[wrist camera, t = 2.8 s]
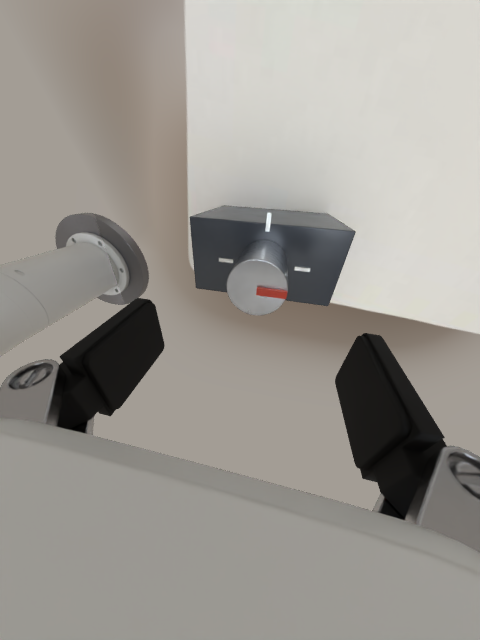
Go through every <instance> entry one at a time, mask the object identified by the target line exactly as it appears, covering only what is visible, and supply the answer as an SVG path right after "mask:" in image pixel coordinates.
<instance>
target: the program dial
mask: <svg viewBox="0 0 480 640" xmlns="http://www.w3.org/2000/svg"><path fill="white" fill-rule="evenodd" d="M227 293H228V296H229V298H230V300H231V302H232V303H233V304H234V305H235V306H236V307H237V308H238V309H239V310H241V311H243V312H245V313H247V314H251V315H266V314H269V313H272V312H273V311H275V310H277V309H278V308H279V307H280V306H281V305H282V304H283V302H284V301H285V299H286V297H287V293H288V272H287V257H286V254H285V252H284V251H283V249H282V248H281V247H280V246H279V245H278V244H276V243H274V242H272V241H268V240H259V241H256V242H253V243H252V244H250V245H249V246H248V247H247V248H246V249H245V250H244V251H243V253H242V255H241V256H240V258H239V259H238V261H237V263H236V264H235V266H234V267H233V269H232V270H231V272H230V274H229V276H228V279H227Z"/></svg>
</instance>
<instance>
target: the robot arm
mask: <svg viewBox="0 0 480 640" xmlns="http://www.w3.org/2000/svg"><path fill="white" fill-rule="evenodd" d="M129 279H130V278H129V271H128V267H127V265H126V262H125V260H124V259H123V257H122V255H121V254H120V253H119V252H118V250H117V249H116V248H115V247H114V246H113V245H112V244H111V243H109V242H108V241H107V240H106V239H104V238H102V237H100V236H98V235H96V234H94V233H89V232H81V233H76V234H74V235H72V236H71V237H70V238H69V239H68V241H67V243H66V247H63V248H60V249H56V250H53V251H49V252H46V253H42V254H38V255H35V256H31V257H28V258H24V259H20V260H17V261H13V262H10V263H6V264H3V265H0V357H1V356H2V355H4V354H5V353H7V352H8V351H10V350H11V349H13V348H14V347H15V346H17V345H19V344H20V343H22V342H23V341H25V340H27V339H28V338H30V337H32V336H33V335H35V334H37V333H38V332H40V331H42V330H43V329H45V328H46V327H48V326H50V325H52V324H53V323H55V322H57V321H58V320H60V319H62V318H64V317H65V316H67V315H68V314H70V313H72V312H73V311H75V310H77V309H79V308H80V307H82V306H84V305H85V304H87V303H88V302H90V301H92V300H93V299H95V298H97V297H99V296H100V295H102V294H106V295H117V294H119V293H121V292H123V291H124V290H125V289H126V288H127V286H128V284H129ZM163 349H164V341H163V337H162V332H161V328H160V324H159V320H158V316H157V312H156V307H155V305H154V304H153V303H152V302H151V301H150V300H148V299H141V298H137V299H135V300H134V301H133V302H131V303H130V304H129V305H127V306H126V307H125V308H123V309H122V310H121V311H119V312H118V313H117V314H115V315H114V316H113V317H111V318H110V319H109V320H108V321H106V322H105V323H103V324H102V325H101V326H99V327H98V328H97V329H95V330H94V331H93V332H91V333H90V334H89V335H87V336H86V337H85V338H83V339H82V340H81V341H79V342H78V343H77V344H75V345H74V346H73V347H72V348H70V349H69V350H68V351H66V352H65V353H64V354H62V355H61V356H60V358H61V359H62V361H63V363H61V364H60V365H59V364H58V363H57V362H56V361H54V360H48V359H45V360H39V361H35V362H32V363H29V364H27V365H25V366H22V367H20V368H19V369H17V370H16V371H14V372H12V373H11V374H10V375H9V376H8V377H7V378H6V379H5V380H4V382H3V383H2V385H1V387H0V640H480V457H479V456H477V455H475V454H474V453H472V452H470V451H468V450H465V449H463V448H460V447H455V446H446V444H445V442H444V441H443V438H444V436H443V434H442V433H441V431H440V429H439V428H438V426H437V424H436V423H435V421H434V420H433V418H432V417H431V415H430V413H429V412H428V410H427V408H426V407H425V405H424V404H423V402H422V400H421V399H420V397H419V396H418V394H417V393H416V391H415V389H414V388H413V386H412V385H411V383H410V381H409V380H408V378H407V376H406V375H405V373H404V372H403V370H402V368H401V367H400V365H399V364H398V362H397V360H396V359H395V357H394V356H393V354H392V353H391V351H390V349H389V348H388V346H387V344H386V343H385V341H384V339H383V338H382V337H381V336H380V335H373V334H367V333H364V334H363V335H362V336H358V337H357V338H356V340H355V342H354V344H353V345H352V347H351V349H350V351H349V353H348V355H347V357H346V359H345V361H344V363H343V364H342V366H341V368H340V370H339V372H338V374H337V376H336V379H335V384H336V388H337V392H338V396H339V400H340V404H341V408H342V413H343V417H344V420H345V425H346V429H347V433H348V438H349V442H350V446H351V450H352V454H353V458H354V462H355V464H356V466H357V468H360V470H361V474H362V478H363V479H366V480H371V481H375V482H378V486H379V489H380V492H381V494H380V496H379V498H378V500H377V502H376V504H375V506H374V508H373V510H372V511H370V510H367V509H364V508H360V507H356V506H354V505H350V504H346V503H343V502H339V501H336V500H333V499H329V498H325V497H322V496H318V495H314V494H311V493H307V492H303V491H300V490H296V489H292V488H288V487H284V486H281V485H277V484H274V483H270V482H266V481H263V480H259V479H255V478H251V477H248V476H244V475H240V474H236V473H233V472H229V471H225V470H222V469H218V468H214V467H210V466H207V465H203V464H199V463H195V462H192V461H188V460H184V459H180V458H177V457H173V456H169V455H165V454H161V453H158V452H154V451H150V450H146V449H142V448H139V447H135V446H131V445H127V444H123V443H119V442H116V441H112V440H108V439H104V438H100V437H96V436H93V422H94V415H95V414H96V413H97V412H99V413H100V414H104V415H108V416H111V415H112V414H113V412H114V411H115V410H116V409H119V408H120V407H121V406H122V405H123V403H124V402H125V401H126V399H127V398H128V397H129V395H130V394H131V393H132V391H133V390H134V389H135V387H136V386H137V385H138V383H139V382H140V380H141V379H142V378H143V377H144V375H145V374H146V372H147V371H148V370H149V369H150V367H151V366H152V365H153V363H154V362H155V361H156V359H157V358H158V356H159V355H160V354H161V353H162V351H163Z"/></svg>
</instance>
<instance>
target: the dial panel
mask: <svg viewBox="0 0 480 640" xmlns="http://www.w3.org/2000/svg"><path fill="white" fill-rule="evenodd" d="M190 225H191V237H192V248H193V260H194V271H195V282H196V288H199V289H206V290H214V291H221V292H227V279H228V276H229V274H230V272H231V270H232V269H233V267H234V266H235V264H236V263H237V261H238V259H239V258H240V256H241V255H242V253H243V251H244V250H245V249H246V248H247V247H248V246H249V245H250V244H252V243H253V242H256V241H259V240H268V241H272V242H274V243H276V244H278V245H279V246H280V247H281V248H282V249H283V251H284V252H285V254H286V257H287V272H288V293H287V297H286V299H285V300H287V301H294V302H301V303H309V304H317V305H324V306H328V305H329V303H330V300H331V297H332V295H333V292H334V289H335V286H336V284H337V281H338V278H339V276H340V273H341V270H342V267H343V265H344V262H345V259H346V257H347V254H348V251H349V249H350V246H351V243H352V240H353V238H354V235H355V231H354V230H352V229H351V228H349V227H348V226H346V225H345V224H343V223H342V222H340V221H339V220H337V219H336V218H334V217H332V216H331V215H329V214H325V213H313V212H300V211H288V210H275V209H262V208H250V207H237V206H225V205H224V206H221V207H218V208H215V209H212V210H209V211H206V212H203V213H200V214H197V215H194V216H191V217H190Z"/></svg>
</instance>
